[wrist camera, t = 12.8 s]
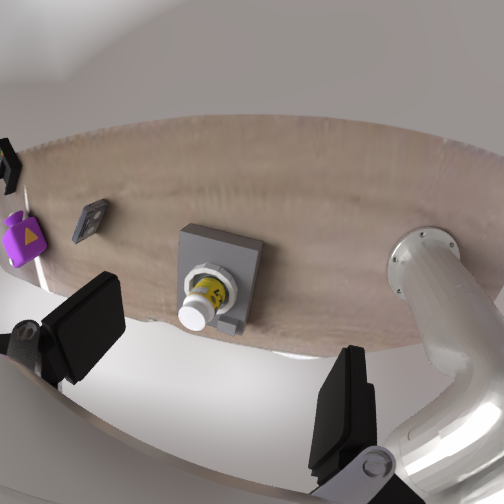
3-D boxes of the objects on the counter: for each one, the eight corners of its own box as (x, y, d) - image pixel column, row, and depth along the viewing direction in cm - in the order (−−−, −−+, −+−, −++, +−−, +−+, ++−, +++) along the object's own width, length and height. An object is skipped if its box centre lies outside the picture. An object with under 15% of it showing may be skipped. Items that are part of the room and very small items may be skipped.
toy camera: (29, 198, 52) (-1, 211, 43) (52, 242, 55) (23, 259, 46) (19, 220, 56) (-7, 233, 48) (41, 260, 59) (15, 276, 51)
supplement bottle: (229, 302, 43) (210, 336, 36) (202, 299, 44) (179, 331, 37) (226, 274, 41) (205, 306, 34) (197, 272, 43) (172, 302, 35)
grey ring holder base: (263, 241, 42) (255, 255, 37) (247, 323, 49) (239, 341, 44) (189, 223, 43) (174, 234, 39) (185, 303, 50) (173, 319, 46)
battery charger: (0, 162, 51) (-10, 166, 48) (7, 137, 47) (-4, 139, 44) (15, 192, 53) (4, 196, 50) (23, 166, 49) (11, 169, 46)
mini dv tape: (104, 198, 46) (82, 207, 41) (109, 203, 46) (87, 213, 41) (90, 228, 50) (70, 239, 44) (95, 233, 50) (75, 244, 44)
